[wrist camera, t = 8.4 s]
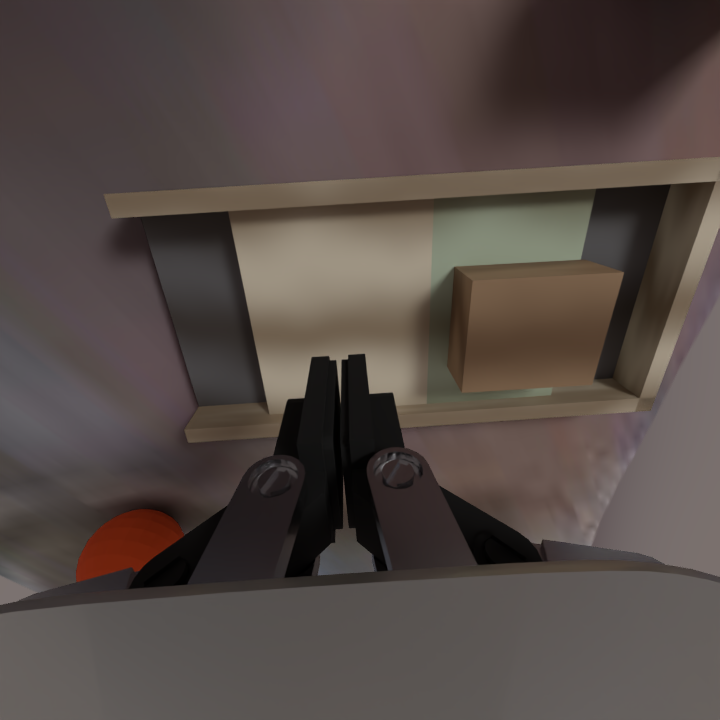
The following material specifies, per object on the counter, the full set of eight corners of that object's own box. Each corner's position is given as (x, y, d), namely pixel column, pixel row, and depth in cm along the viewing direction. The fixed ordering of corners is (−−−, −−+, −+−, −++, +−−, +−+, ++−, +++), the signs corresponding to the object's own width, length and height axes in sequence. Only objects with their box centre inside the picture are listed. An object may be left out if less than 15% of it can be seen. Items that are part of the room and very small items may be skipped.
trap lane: (142, 191, 19) (103, 194, 16) (681, 159, 19) (746, 155, 16) (207, 410, 25) (188, 442, 22) (613, 382, 26) (650, 410, 23)
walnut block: (454, 266, 19) (472, 280, 16) (584, 259, 19) (624, 272, 16) (447, 366, 22) (461, 392, 19) (561, 360, 22) (591, 384, 19)
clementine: (199, 557, 32) (164, 650, 26) (117, 551, 31) (60, 645, 25) (199, 494, 29) (158, 582, 23) (107, 484, 28) (38, 574, 22)
